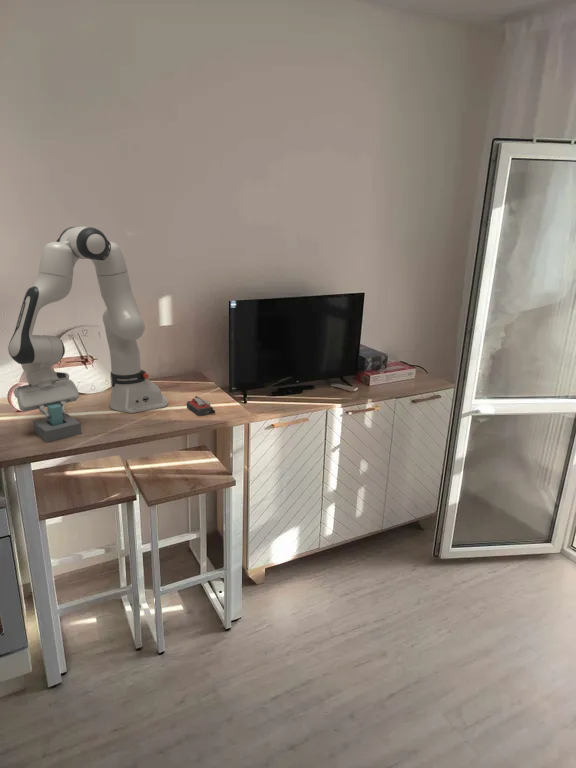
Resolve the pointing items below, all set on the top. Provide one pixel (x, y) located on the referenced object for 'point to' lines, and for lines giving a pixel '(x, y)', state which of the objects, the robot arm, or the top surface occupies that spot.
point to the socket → (57, 428)
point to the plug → (55, 414)
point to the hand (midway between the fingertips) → (56, 415)
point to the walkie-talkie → (200, 407)
